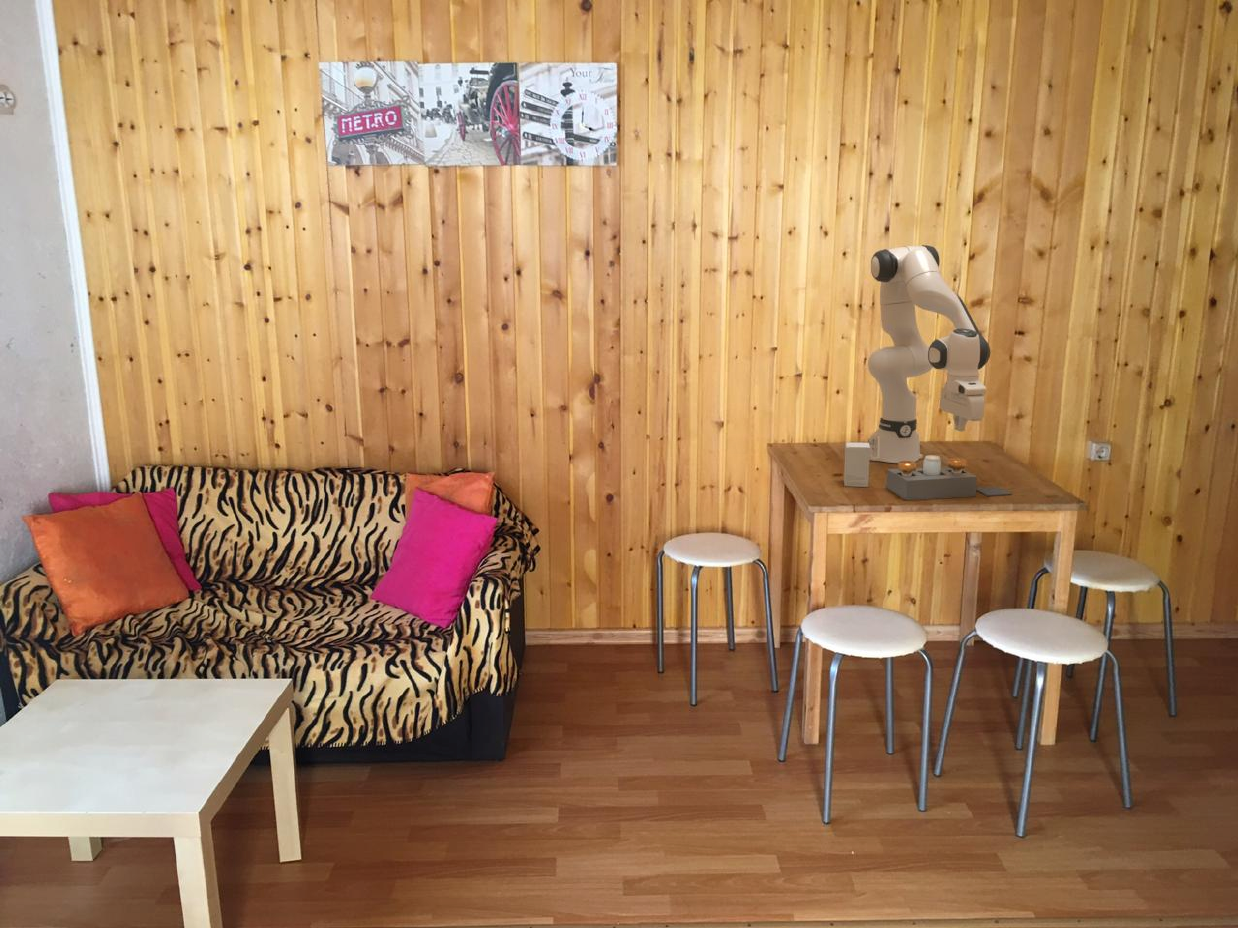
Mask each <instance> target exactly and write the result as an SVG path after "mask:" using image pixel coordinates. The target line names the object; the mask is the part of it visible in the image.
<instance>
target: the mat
mask: <svg viewBox="0 0 1238 928" xmlns="http://www.w3.org/2000/svg"><path fill="white" fill-rule="evenodd" d="M977 492H978V493H980V494H981V495H984V496H985V497H997V496H999V497H1000V496H1012V495H1013V493H1012V492H1010V491H1008V490H1006V489H1003V488H1001V487H1000V486H991V487H977V490H976V493H977Z"/></svg>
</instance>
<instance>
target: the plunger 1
mask: <svg viewBox="0 0 1238 928" xmlns="http://www.w3.org/2000/svg"><path fill="white" fill-rule="evenodd" d="M916 468H917V462H912V461H900V462H898V463H897V469H898V470H900V471H902V472H901V476H903V477H904V476H912V471H916Z"/></svg>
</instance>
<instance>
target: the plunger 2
mask: <svg viewBox="0 0 1238 928" xmlns="http://www.w3.org/2000/svg"><path fill="white" fill-rule="evenodd" d="M947 466H948V467H950V468H951V473H953V474H956V473H962V469H963V470H964V469H966V468H967V459H965V458H957V457H955V458H954V457H952V458H948V461H947Z"/></svg>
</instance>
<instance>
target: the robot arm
mask: <svg viewBox="0 0 1238 928" xmlns="http://www.w3.org/2000/svg"><path fill="white" fill-rule="evenodd" d="M870 271H871V275H872V277H873V278H874V280H875V281H876V282H879V283H880V286H879V287H880V288H879V306H880V307H879V308H880V319H881V320H880V322H881V329H882V331H884V332H885V333H886V334H887V335H889V336H890V338H891V340H892V342H893V345H894V346H885V347H883V348H879V349H876V350H875V351H873V352H872V353H871V354H870V355H869V357H868V361H867V367H868V368H867V369H868V371H869V374H870V375H871V376H872V377H873V378H874V379H875V380H876V381H877V384H878V385H879V388H880V391H881V398H882V399H881V400H882V401H881V404H882V405H881V406H882V407H881V410H882V411H881V417H879V423H878V428H877V430H875V432H874V433H872V435H870V437H869V438H868V439H867V443H869V446H870V458H869V461H872V462H883V463H888V464H889V463H890V464H898V462H900V461H912V462H915V463H917V462H918V461H919V460H921V459H924V454H922V453H920V450H921V449H920V435H919V433H918V432H917V426H918V425H917V424H918V423H917V422H918V421H917V418H916V416H917V415H916V413H917V396H916V394H915V393H914V392H913V391H911V390H910V388H909V385H908V379H907V378H915V377H919V376H923V375H925V374H927V373H929V372H930V371H931V370H932V369H935V370H939V371H946V370H947V375H946V382H945V383H944V384H943V385H944V387H943V388H942V389H941V395H940V401H939V408H940V410H941V411H942V412H946V413H948V414H951V415H952V419H953V423H954V430H955V431H959V432H965V431H966V425H967V424H968V421H970V422H977V421H980V422H981V421H982V419H983V418H984V415H985V414H984V413H985V403H986V400H985V395H986V393H987V387H986V385H984V383H982V381H981V379H979V375H980V374H979V370H981V369H982V368H983V367H985V366H986V364H987V363H988V362H989V360H990V357H991V353H992V352H991V347H990V344H989V343H988V341H987V340H986V338H985V337H984V336H983V335H982V333H981V331H979V329H978V327H977V325H976V323H975V321H974V320H973V318H972V316H971V313H970V311H969V310H968V308H967V306H966V304H965V302H964V301H963V299H962V298H961V296H960V295H959V294H957V293H956V292H955V291H953V290H952V289H951V288H950V287H949V285H948V284H947V283H946V280H944V278H943V275H942V272H941V269H940V255H939V252H938V250H937V249H936V247H934V246H931V245H925V244H922V245H906V246H905V245H904V246H900V247H893V248H890V249H886V248H885V249H881V250H878V251H876V252H875V253H874V254H873V255H872V257H871V259H870ZM916 307H917V308H920V309H922V310H925V311H928V312H932V313H936V314H939V315H941V316H944V317H946V318H947V319H949V320H950V321H951V323H952V324H953V326H954V328H955V329H953V330H951V332H950V334H949V335H947V336H944V337H942V338H938V339H935V340H933V341H932V342H931V344H930V345H929V346H928V345H927V344H926V342H925V341H924V340H923V338H922V335H921V334H920V332H919V329H918V324H917V318H916Z"/></svg>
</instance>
